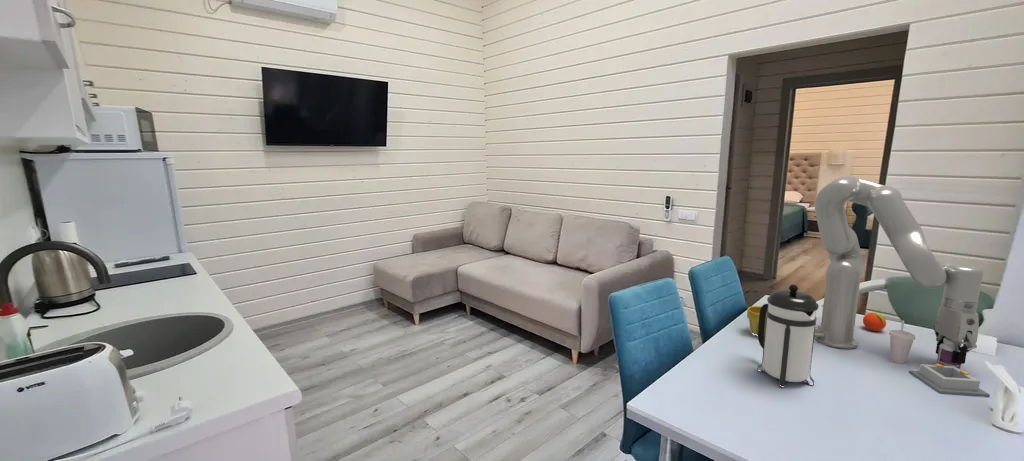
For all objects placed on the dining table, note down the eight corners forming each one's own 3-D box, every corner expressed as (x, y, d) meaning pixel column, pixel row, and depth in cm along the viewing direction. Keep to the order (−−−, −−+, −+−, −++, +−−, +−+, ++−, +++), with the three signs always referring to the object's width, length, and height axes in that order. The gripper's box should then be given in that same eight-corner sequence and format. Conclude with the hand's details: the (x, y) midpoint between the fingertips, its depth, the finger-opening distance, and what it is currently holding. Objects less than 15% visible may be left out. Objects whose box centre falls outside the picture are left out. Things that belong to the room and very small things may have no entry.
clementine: (892, 335, 159) (895, 317, 158) (873, 335, 159) (876, 317, 158) (874, 326, 167) (877, 309, 166) (857, 326, 167) (859, 309, 166)
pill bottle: (964, 373, 131) (970, 344, 129) (944, 371, 132) (949, 342, 130) (951, 364, 136) (955, 336, 135) (931, 363, 137) (936, 335, 136)
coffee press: (818, 375, 131) (829, 283, 126) (809, 396, 120) (820, 296, 115) (755, 358, 143) (763, 273, 138) (742, 376, 132) (750, 284, 126)
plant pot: (757, 327, 168) (759, 304, 166) (783, 337, 159) (785, 312, 157) (739, 332, 164) (741, 308, 162) (764, 342, 155) (766, 317, 153)
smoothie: (904, 357, 141) (911, 318, 139) (915, 366, 135) (922, 325, 133) (881, 355, 143) (887, 316, 141) (891, 364, 137) (897, 323, 135)
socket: (939, 393, 120) (942, 380, 120) (908, 372, 132) (910, 360, 131) (989, 397, 118) (992, 383, 117) (953, 375, 130) (955, 362, 129)
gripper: (999, 314, 122) (988, 372, 125) (950, 295, 138) (941, 347, 141) (968, 313, 123) (958, 371, 126) (923, 294, 139) (915, 345, 143)
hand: (949, 357), depth 134 cm, fingers closed on pill bottle, 5 cm apart
